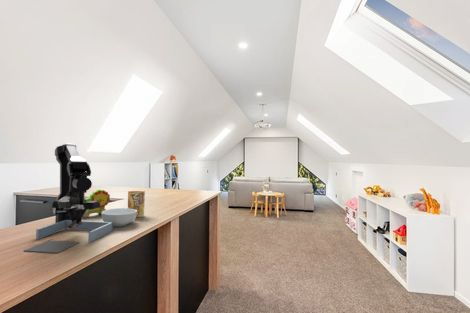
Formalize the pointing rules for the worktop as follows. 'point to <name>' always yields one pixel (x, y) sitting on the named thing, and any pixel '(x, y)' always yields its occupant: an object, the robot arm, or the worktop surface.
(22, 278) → the worktop surface
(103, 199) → the toy lion
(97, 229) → the open box
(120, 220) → the cereal bowl
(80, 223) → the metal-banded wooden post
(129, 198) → the candy box
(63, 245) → the mat
